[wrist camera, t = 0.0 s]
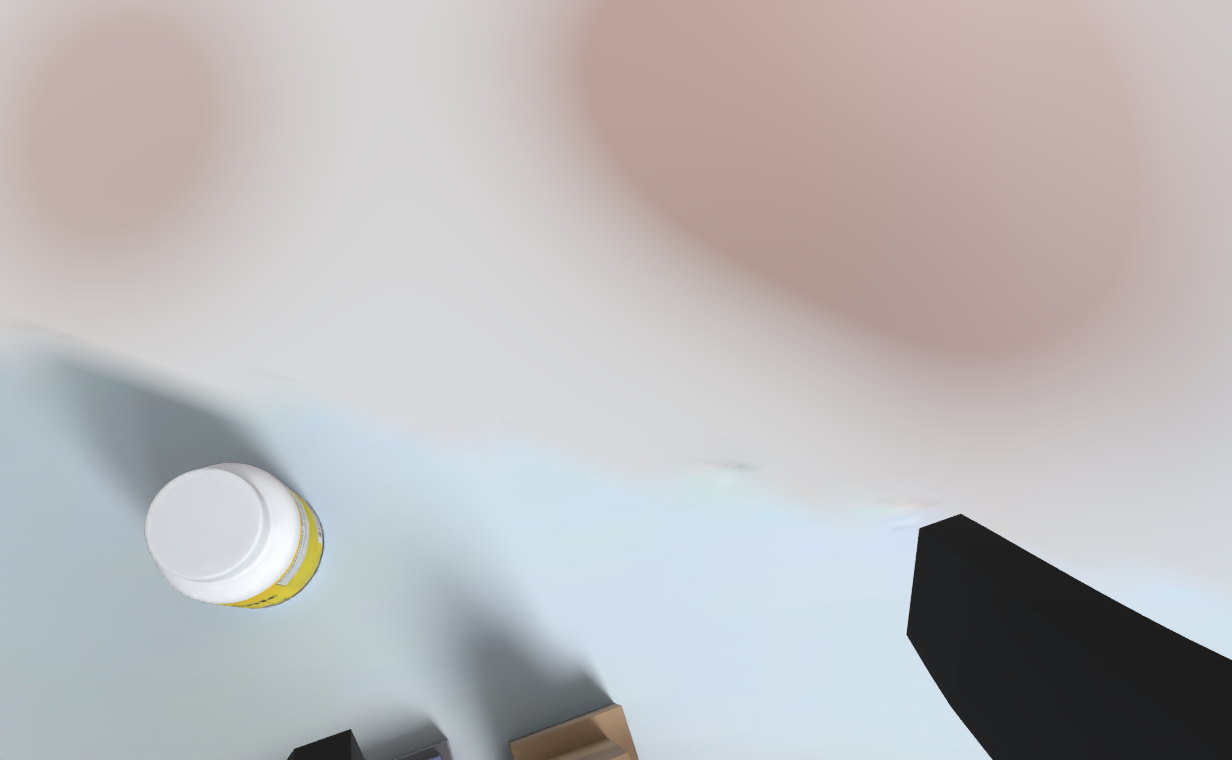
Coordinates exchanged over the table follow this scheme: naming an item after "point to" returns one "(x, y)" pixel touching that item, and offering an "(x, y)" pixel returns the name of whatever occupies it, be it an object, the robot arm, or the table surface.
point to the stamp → (580, 738)
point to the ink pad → (430, 753)
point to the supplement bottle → (234, 536)
